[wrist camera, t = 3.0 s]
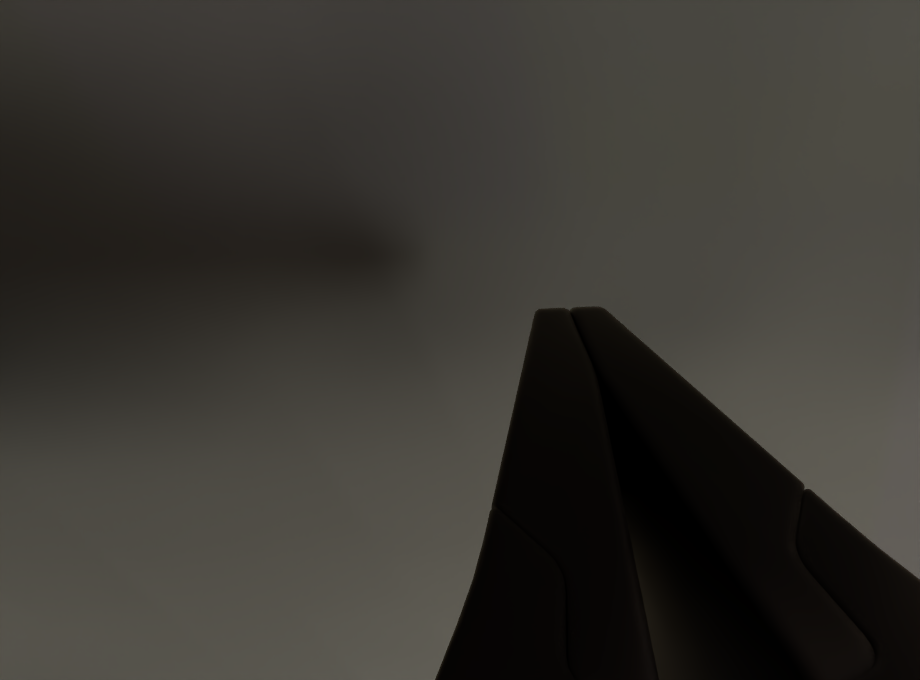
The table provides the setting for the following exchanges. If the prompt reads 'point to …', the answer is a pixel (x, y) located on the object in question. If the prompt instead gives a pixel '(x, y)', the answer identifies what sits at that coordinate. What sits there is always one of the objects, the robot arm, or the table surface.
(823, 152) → the table surface
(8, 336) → the table surface
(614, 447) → the robot arm
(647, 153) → the table surface
